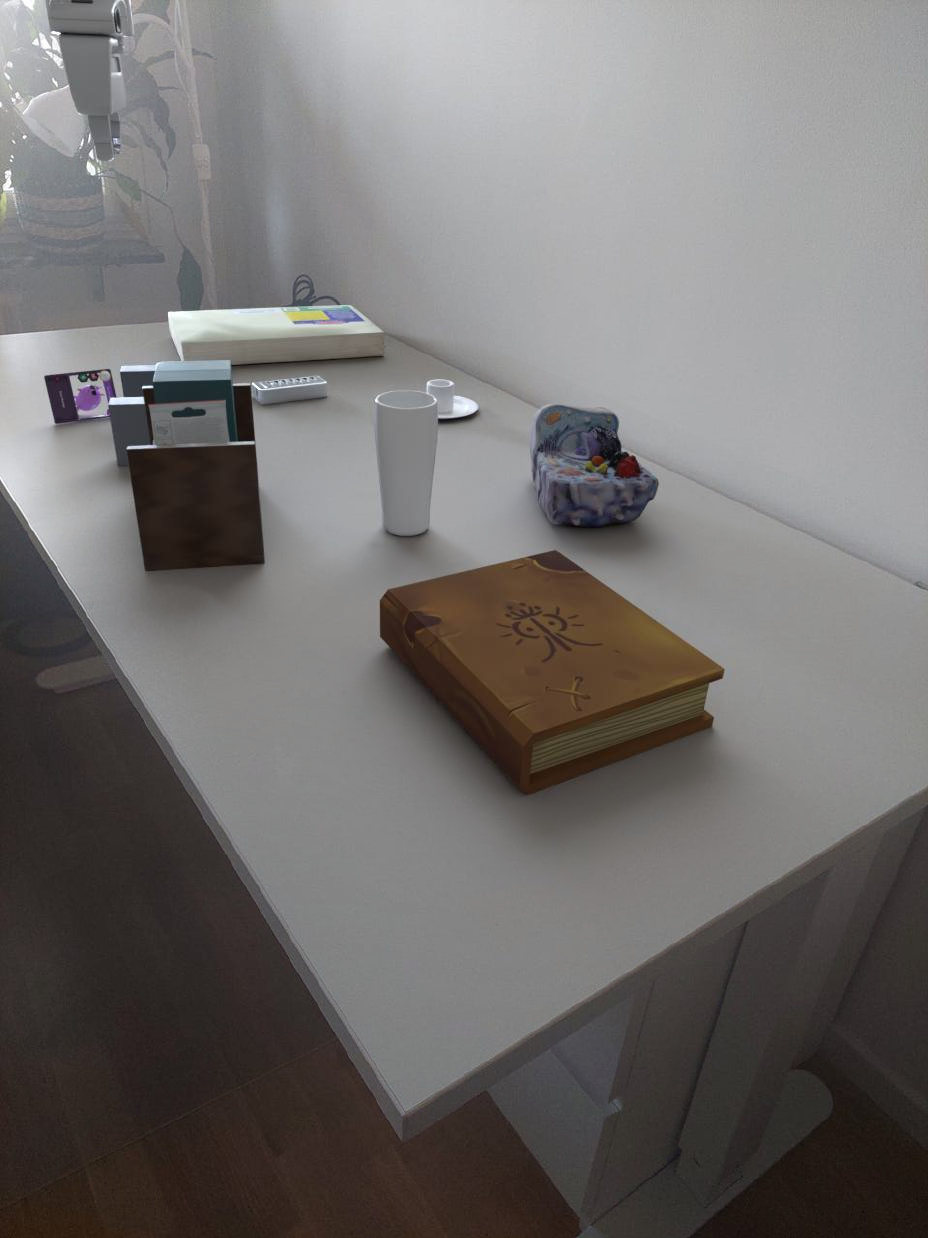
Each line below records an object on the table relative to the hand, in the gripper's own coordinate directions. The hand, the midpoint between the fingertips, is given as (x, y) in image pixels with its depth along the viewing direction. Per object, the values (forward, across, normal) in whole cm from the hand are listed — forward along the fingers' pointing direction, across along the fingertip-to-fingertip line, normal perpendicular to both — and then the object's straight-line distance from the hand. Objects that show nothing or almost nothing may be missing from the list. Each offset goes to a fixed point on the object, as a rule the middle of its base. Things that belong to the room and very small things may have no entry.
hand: (110, 156), depth 110 cm
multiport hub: (+35, -19, +20) cm, 45 cm away
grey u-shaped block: (+35, -1, 0) cm, 35 cm away
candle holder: (+35, -10, +42) cm, 56 cm away
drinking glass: (+35, +32, +30) cm, 56 cm away
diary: (+35, +65, +36) cm, 82 cm away
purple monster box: (+35, -13, -10) cm, 39 cm away
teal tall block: (+34, +22, +8) cm, 42 cm away
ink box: (+34, +31, +7) cm, 47 cm away
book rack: (+35, +28, +8) cm, 46 cm away
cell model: (+35, +28, +52) cm, 69 cm away
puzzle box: (+35, -51, +19) cm, 65 cm away
